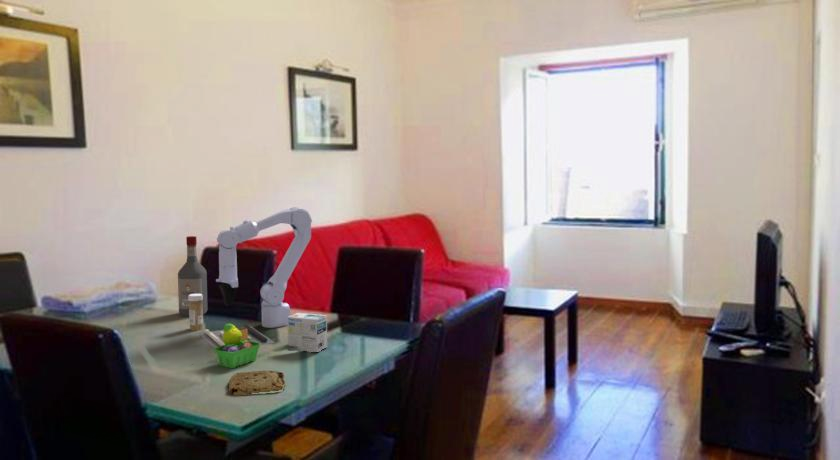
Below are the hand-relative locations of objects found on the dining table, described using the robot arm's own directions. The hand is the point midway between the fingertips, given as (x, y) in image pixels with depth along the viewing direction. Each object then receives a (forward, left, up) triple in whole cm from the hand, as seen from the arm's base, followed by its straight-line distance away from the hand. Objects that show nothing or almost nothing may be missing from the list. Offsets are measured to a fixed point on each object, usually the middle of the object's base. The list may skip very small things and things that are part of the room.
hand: (228, 305), depth 212 cm
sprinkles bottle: (+9, -6, -10) cm, 15 cm away
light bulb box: (-16, +31, -10) cm, 36 cm away
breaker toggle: (+1, +17, -8) cm, 19 cm away
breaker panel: (+1, +12, -10) cm, 15 cm away
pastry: (+8, +55, -11) cm, 56 cm away
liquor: (+3, -36, -10) cm, 38 cm away
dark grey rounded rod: (-5, +12, -8) cm, 15 cm away
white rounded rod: (+8, +12, -8) cm, 16 cm away
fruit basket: (+7, +33, -10) cm, 35 cm away
